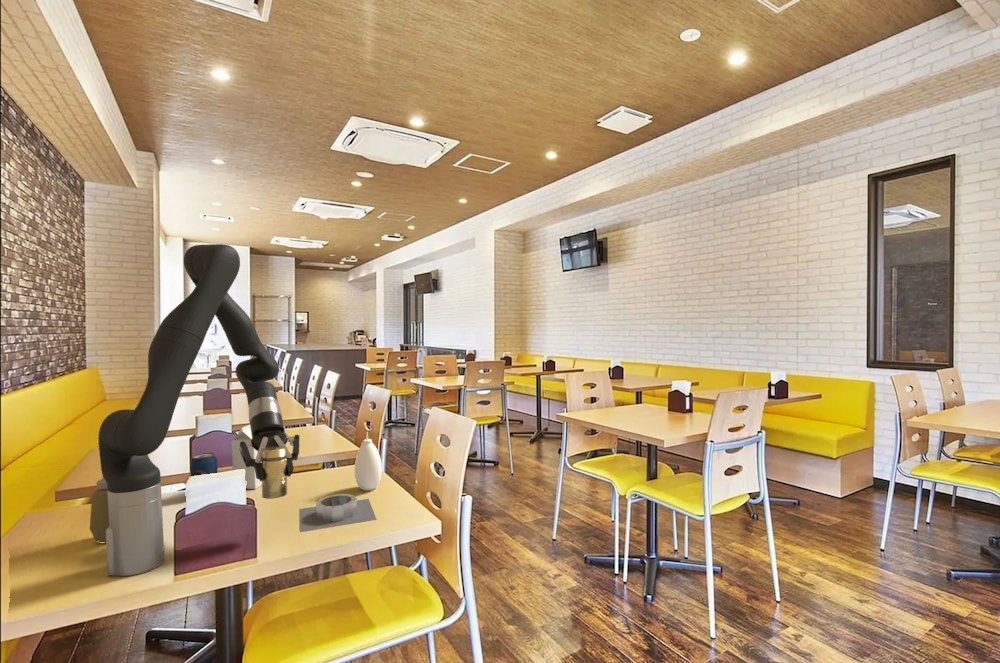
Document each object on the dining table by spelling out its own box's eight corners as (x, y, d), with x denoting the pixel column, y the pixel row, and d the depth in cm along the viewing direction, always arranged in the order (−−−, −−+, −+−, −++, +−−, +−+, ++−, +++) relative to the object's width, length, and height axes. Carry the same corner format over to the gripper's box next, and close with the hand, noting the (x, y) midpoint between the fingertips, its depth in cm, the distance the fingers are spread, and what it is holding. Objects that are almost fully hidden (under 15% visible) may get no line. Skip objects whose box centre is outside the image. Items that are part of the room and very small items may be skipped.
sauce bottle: (385, 486, 157) (383, 427, 157) (378, 495, 150) (376, 433, 149) (360, 486, 158) (358, 428, 157) (351, 495, 150) (349, 434, 149)
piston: (260, 500, 120) (259, 453, 120) (262, 492, 125) (261, 447, 125) (287, 496, 122) (286, 450, 122) (287, 489, 128) (286, 445, 127)
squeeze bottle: (97, 535, 126) (93, 462, 126) (136, 529, 129) (133, 458, 129) (84, 549, 119) (80, 471, 118) (126, 542, 122) (122, 466, 121)
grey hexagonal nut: (317, 524, 128) (316, 510, 128) (315, 510, 137) (315, 497, 137) (358, 517, 131) (358, 504, 131) (354, 504, 141) (354, 491, 140)
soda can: (186, 499, 150) (184, 458, 149) (201, 491, 157) (199, 452, 156) (208, 499, 149) (206, 458, 149) (223, 491, 156) (221, 452, 156)
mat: (300, 535, 123) (299, 532, 123) (299, 511, 138) (299, 508, 138) (376, 522, 130) (376, 519, 130) (368, 501, 145) (368, 498, 145)
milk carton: (268, 481, 164) (265, 422, 164) (255, 489, 157) (252, 427, 157) (247, 481, 165) (244, 422, 164) (233, 489, 158) (230, 427, 157)
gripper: (235, 413, 126) (243, 473, 116) (297, 407, 134) (310, 463, 124) (233, 431, 130) (240, 491, 121) (293, 424, 138) (305, 479, 129)
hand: (275, 476), depth 122 cm, fingers closed on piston, 5 cm apart
